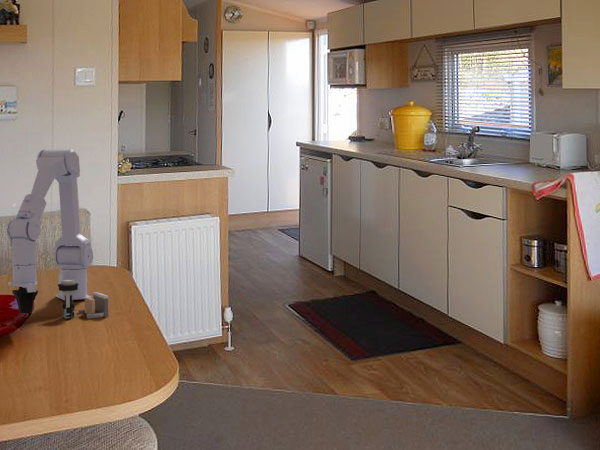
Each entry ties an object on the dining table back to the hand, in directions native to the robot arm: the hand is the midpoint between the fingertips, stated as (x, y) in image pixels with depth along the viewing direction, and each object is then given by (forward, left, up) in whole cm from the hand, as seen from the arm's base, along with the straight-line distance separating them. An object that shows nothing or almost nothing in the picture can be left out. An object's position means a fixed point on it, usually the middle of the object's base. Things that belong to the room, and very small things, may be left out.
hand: (25, 316), depth 184 cm
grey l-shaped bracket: (0, +18, -1) cm, 18 cm away
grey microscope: (0, +11, -2) cm, 11 cm away
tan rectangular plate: (0, +17, -1) cm, 17 cm away
